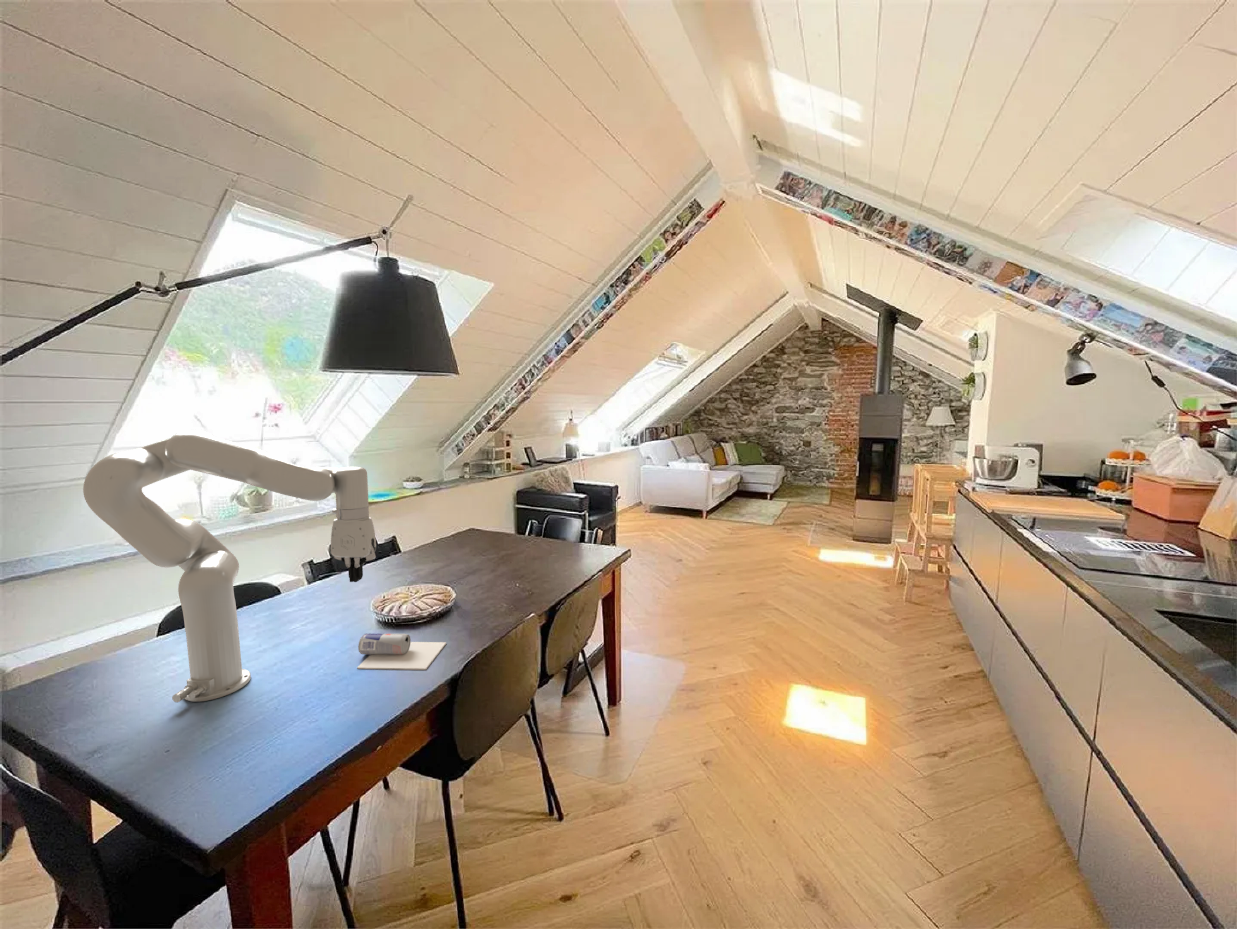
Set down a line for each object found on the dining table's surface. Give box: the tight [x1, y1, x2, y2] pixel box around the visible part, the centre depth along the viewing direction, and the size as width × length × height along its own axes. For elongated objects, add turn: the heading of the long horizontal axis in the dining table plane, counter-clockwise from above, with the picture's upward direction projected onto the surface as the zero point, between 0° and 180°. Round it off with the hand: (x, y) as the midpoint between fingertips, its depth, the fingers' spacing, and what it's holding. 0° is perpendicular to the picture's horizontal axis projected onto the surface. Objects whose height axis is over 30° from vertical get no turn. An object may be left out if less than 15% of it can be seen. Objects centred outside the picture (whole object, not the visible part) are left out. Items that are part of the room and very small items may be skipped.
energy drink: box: [357, 633, 412, 655], centre depth 132 cm, size 5×5×12 cm
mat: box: [356, 641, 447, 671], centre depth 132 cm, size 14×18×1 cm
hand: (356, 580), depth 130 cm, fingers closed
